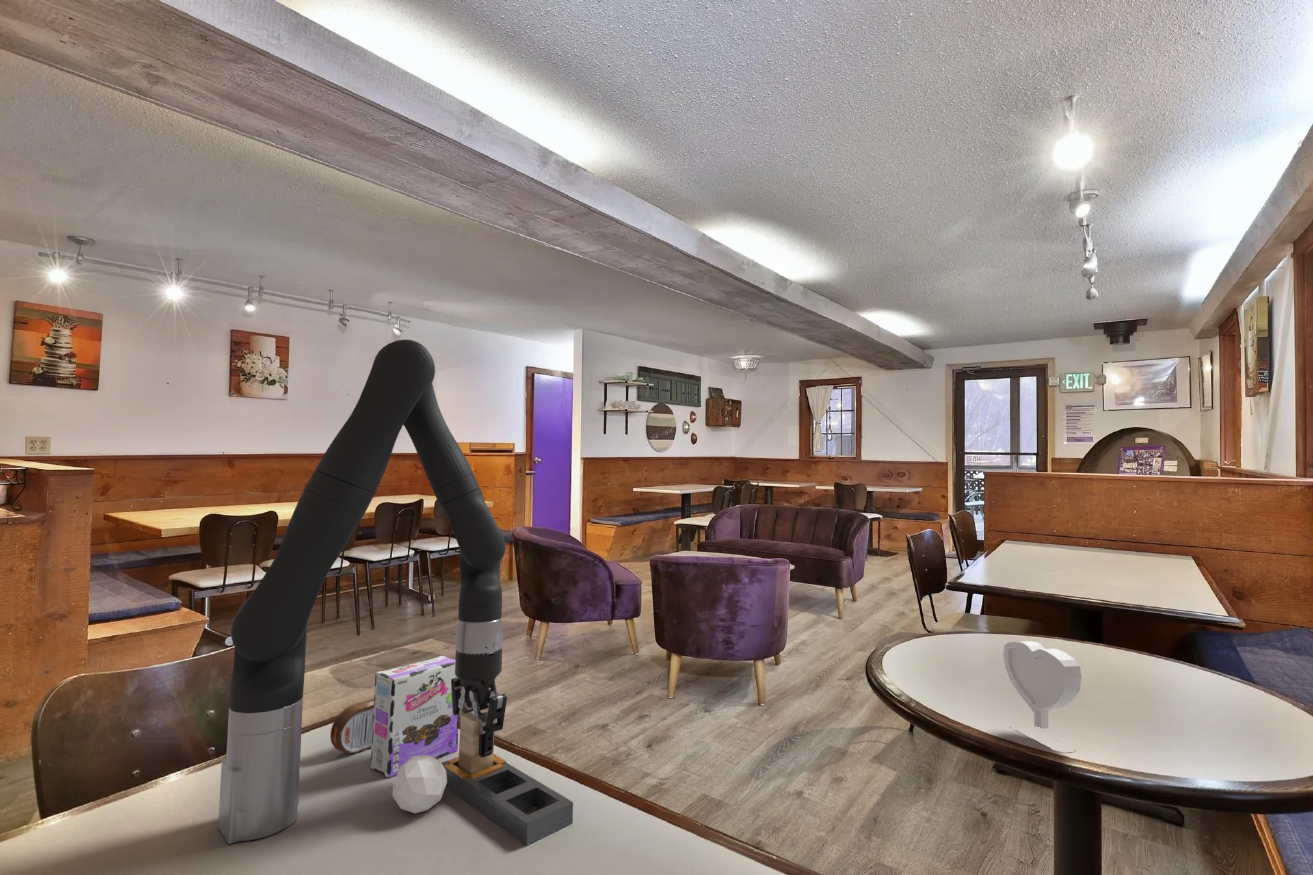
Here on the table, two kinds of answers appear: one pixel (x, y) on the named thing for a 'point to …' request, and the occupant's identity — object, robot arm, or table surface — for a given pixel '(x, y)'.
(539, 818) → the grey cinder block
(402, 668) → the candy box
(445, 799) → the table surface
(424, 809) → the geometric ball
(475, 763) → the birch peg
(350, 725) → the tin
